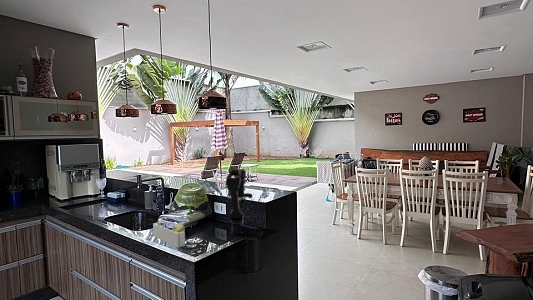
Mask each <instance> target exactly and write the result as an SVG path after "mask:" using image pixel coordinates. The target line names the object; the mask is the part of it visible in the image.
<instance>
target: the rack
mask: <svg viewBox="0 0 533 300" xmlns="http://www.w3.org/2000/svg"><path fill="white" fill-rule="evenodd" d="M152 225H153V226H152V227H153V228H152V232H153V234H152V236H153V237H154V238H157V239H159V240H161V241H162V242H165V243H167V244H169V245H171V246H173V247H176V248H177V249H179V248H183V247H185V246H186V233H185V231H183V232H179V233H178V232H175V231H174V226H175V225H172V226H171V227H172V228H169V225H170V224H169V223H167V224H166V226H167V227H165V225H164V221H162V222H161V221H160V220H157V222H155V223H152Z"/></svg>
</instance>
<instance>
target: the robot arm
mask: <svg viewBox="0 0 533 300" xmlns="http://www.w3.org/2000/svg"><path fill="white" fill-rule="evenodd" d="M246 183H247V171H246V170H245V169H244V168H235V169H231V170H230V173H228V174H227V176H226V179H225V185H226V189H227V190H228V195H229V196H227V198H226V199H227V201H228V202H231V211H230V215H229V218H228V225H229V226H230V227H231V228H230V231H231V232H229V234H230V235H232V236H239V235H242V234H244V232H242V226H243V225H244V218H245V217H244V216H245V215H244V213H243V206H244V204H245V202H246V201H247V198H248V199H252V198H253V194H252V193H249V192H245V191H246V188H245V185H246Z"/></svg>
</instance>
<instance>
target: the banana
mask: <svg viewBox="0 0 533 300" xmlns="http://www.w3.org/2000/svg"><path fill="white" fill-rule="evenodd" d="M176 225H177V224H176ZM174 226H175V225H174ZM174 231H175V232H178V233H179V232H183V231H184V232H185V231H186V228H185V225H184V224H182V223H178V225H177V226H175V227H174Z"/></svg>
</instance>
